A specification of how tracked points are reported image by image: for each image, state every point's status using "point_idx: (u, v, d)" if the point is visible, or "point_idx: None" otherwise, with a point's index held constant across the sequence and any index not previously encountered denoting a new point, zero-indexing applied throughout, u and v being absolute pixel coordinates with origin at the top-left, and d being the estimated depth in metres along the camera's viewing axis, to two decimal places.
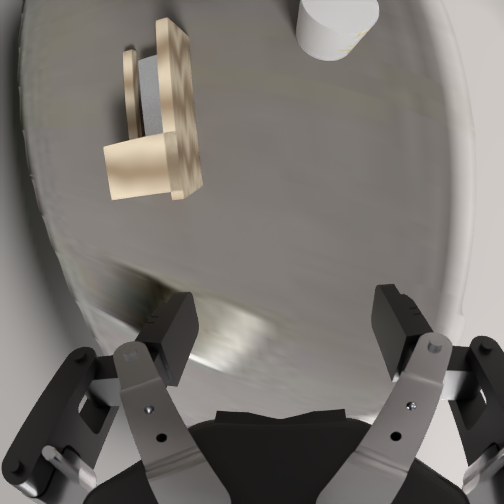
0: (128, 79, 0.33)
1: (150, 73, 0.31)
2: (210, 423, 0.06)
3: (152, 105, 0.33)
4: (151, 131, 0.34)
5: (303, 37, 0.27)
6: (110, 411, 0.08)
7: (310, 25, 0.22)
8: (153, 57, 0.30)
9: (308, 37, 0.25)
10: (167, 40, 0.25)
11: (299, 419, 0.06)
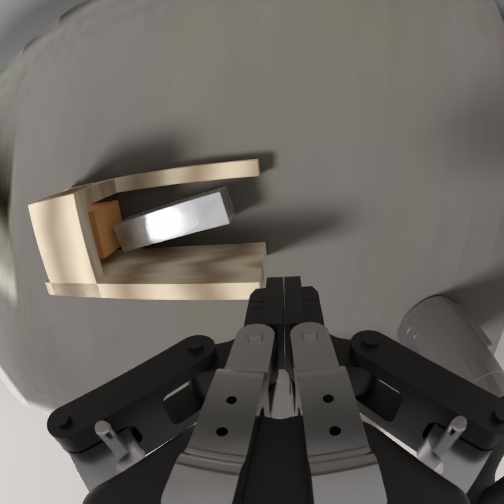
0: (204, 172, 0.26)
1: (198, 216, 0.26)
2: None
3: (153, 228, 0.27)
4: (122, 232, 0.27)
5: None
6: None
7: None
8: (224, 217, 0.25)
9: None
10: (217, 298, 0.23)
11: (298, 419, 0.06)
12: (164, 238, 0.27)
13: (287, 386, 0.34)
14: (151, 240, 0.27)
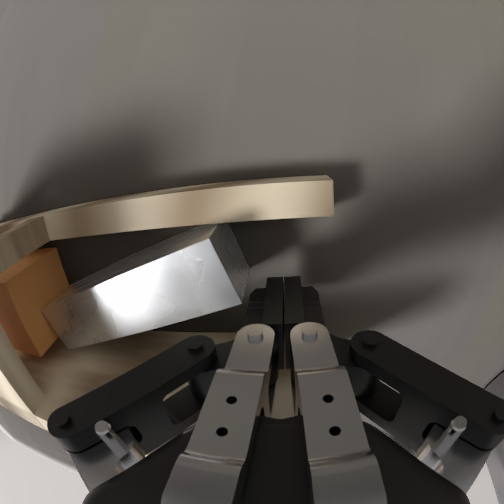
0: (211, 206, 0.12)
1: (173, 295, 0.12)
2: None
3: (98, 317, 0.13)
4: (56, 321, 0.13)
5: None
6: None
7: None
8: (228, 292, 0.11)
9: None
10: None
11: (299, 419, 0.06)
12: (121, 333, 0.13)
13: None
14: (101, 335, 0.13)
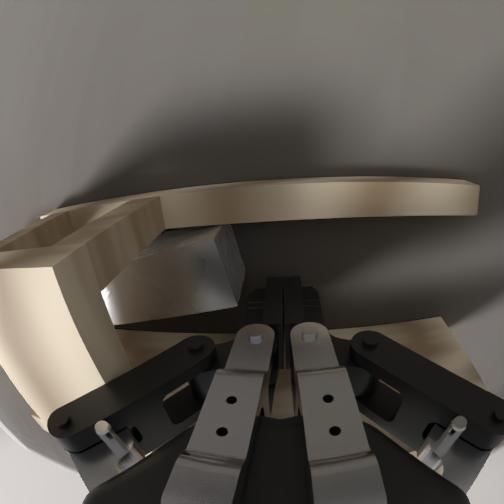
0: (394, 198, 0.11)
1: (169, 290, 0.12)
2: None
3: None
4: None
5: None
6: None
7: None
8: (226, 294, 0.11)
9: None
10: None
11: (299, 419, 0.06)
12: None
13: None
14: None
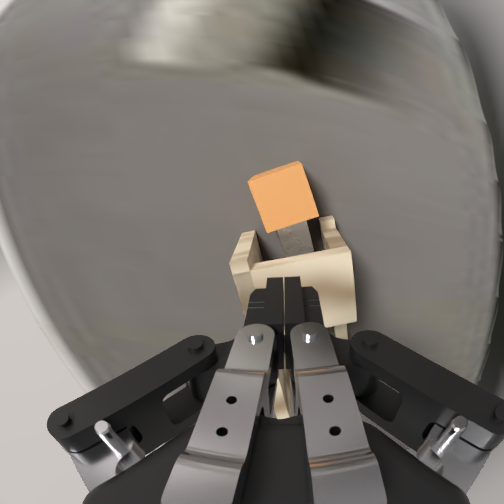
0: None
1: None
2: None
3: None
4: (298, 228, 0.28)
5: None
6: None
7: None
8: None
9: None
10: (275, 410, 0.30)
11: (298, 419, 0.06)
12: None
13: None
14: None
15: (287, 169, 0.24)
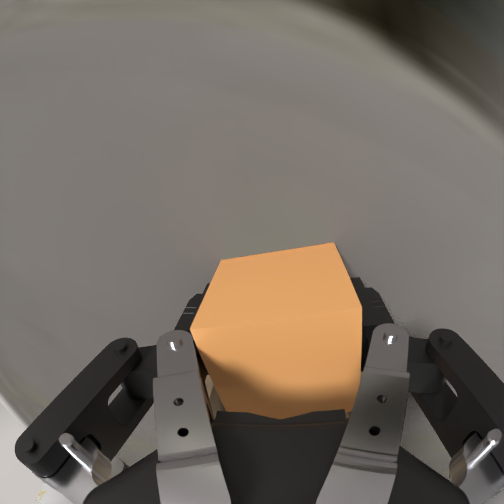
0: None
1: None
2: (210, 423, 0.06)
3: None
4: None
5: None
6: (143, 405, 0.08)
7: None
8: None
9: None
10: None
11: (298, 419, 0.06)
12: None
13: None
14: None
15: (314, 318, 0.08)
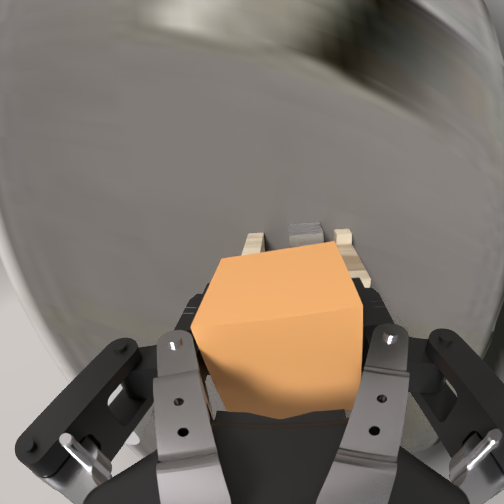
0: None
1: None
2: (210, 423, 0.06)
3: None
4: (313, 242, 0.25)
5: None
6: (144, 405, 0.08)
7: None
8: None
9: None
10: None
11: (299, 419, 0.06)
12: None
13: None
14: None
15: (315, 316, 0.08)
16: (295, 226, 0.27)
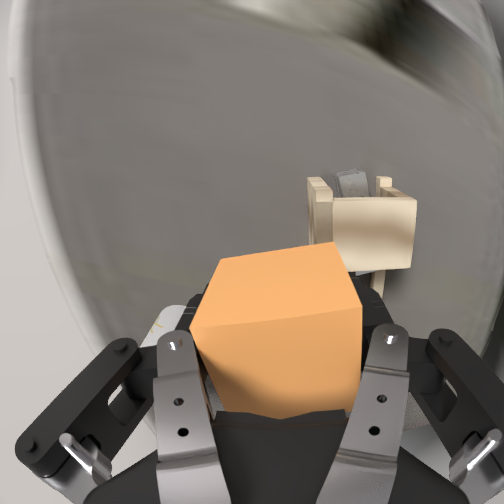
0: None
1: None
2: (210, 423, 0.06)
3: None
4: (358, 181, 0.28)
5: None
6: (144, 405, 0.08)
7: None
8: (360, 272, 0.33)
9: None
10: None
11: (299, 419, 0.06)
12: None
13: None
14: None
15: (315, 317, 0.08)
16: (340, 173, 0.31)
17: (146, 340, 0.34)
